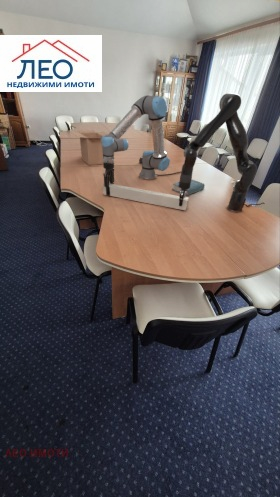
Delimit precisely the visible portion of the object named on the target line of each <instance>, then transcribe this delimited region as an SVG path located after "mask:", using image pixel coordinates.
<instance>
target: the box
mask: <svg viewBox="0 0 280 497" xmlns="http://www.w3.org/2000/svg"><path fill="white" fill-rule="evenodd" d="M70 133H71V134H72V135H74V136H75V137H77V138H79V144H80V153H81V160H83V162H85V163H86V165H87V166H95V165H97V166H98V165H103V148H102V142H101V139H102V137H103V136H104V135H108V134H109V133H108V132H105V131H98V132H96V131H95V130H92V129H91V130H77V132H76V131H70Z"/></svg>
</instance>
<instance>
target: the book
mask: <svg viewBox="0 0 280 497" xmlns="http://www.w3.org/2000/svg"><path fill="white" fill-rule="evenodd" d="M172 185H173V187H172V189H171V190H172V191H175V192H177V193H179V194H180V190H181V188H179V181H178V182H175V183H172ZM204 189H205V183H204V182H200V181H198V180H195V179H192V180H191V185H190V188H189V189H186V190H187V192H186V195H185V196H190V195H193V194H195V193H197V192H200V191H202V190H204Z"/></svg>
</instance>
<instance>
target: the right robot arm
mask: <svg viewBox="0 0 280 497" xmlns="http://www.w3.org/2000/svg"><path fill="white" fill-rule="evenodd" d="M218 105H219V110H220V111H219V112H218V113H217V115H216V116H215V117H213V119H212V120H211V121H209V122H208V123H207V124H206V125H204V127H203V128H202V129H201V130H200V131H199V133H198V134H197V135H196V136H195V138H194V139H193V140H192V141H191V142H190V143H189V144H187V146H186V147H185V148H184V150H183V157H184V163H183V164H182V166H181V171H180V175H179V181H178V182H179V188H181V190H180V193H179V196H180V198H179V201H180V202H179V206H182V204H183V199H184V198H185V197H186V196H187V195H186V192H187V190H186V189H189V188H190V185H191V180H193V173H194V167H195V164H196V162H197V158H198V151H199V150H200V149H202V148H203V147H204V146H205V145H206V144H207V143H208V141H210V139H211V138H212V137H213V136H214V135H215V133H217V131H218V130H219V129H220V128H221V127H222V126H223V125H224V124H225V126H226V129H227V134H228V137H229V142H230V145H231V148H232V151H233V155H234V158H235V163H236V168H237V172H238V174H239V175H241V176H240V179H239V180H236V181H235V184H234V186H233V189H232V192H231V196H230V198H229V200H228V205H227V210H228V211H230V212H232V213H233V212H234V213H240V212H242V211H243V209H244V207H246V208H249V207H250V206H260V205H265V202H261V203H250V204H246V201H247V198H246V197H247V195H248V193H249V192H248V191H249V189H250V186H251V185H252V184H253V182H254V180H255V177H256V175H257V172H258V166H257V165H256V164H255V163H253V162H252V161H250V158H249V156H248V147H249V137H248V134H247V130H246V128H245V126H244V124H243V123H242V121H241V119H240V117H239V113H238V110H239V109H240V108H241V105H242V97H241V96H240V94H237V93H233V92H227V93H224V94H223V95H222V96H221V98H220V99H219V104H218Z"/></svg>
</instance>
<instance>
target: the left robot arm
mask: <svg viewBox="0 0 280 497" xmlns="http://www.w3.org/2000/svg"><path fill="white" fill-rule="evenodd" d="M167 112H168V103H167V101H166V99H165V98H164V97H161V96H160V95H159V96H158V95H149V94H148V95H147V94H146V95H144V96H141V97H140V98H139V99H137V100H136V101H135V102H134V103H132V105H131V107H130V110H129V111H128V112H127V113H126V114H125V115H124V117H122V118H121V120H120V121H119V122H117V124H116V125H115V126H114V128H113V129H111V131H110V132H109V133H107V134H108V135H104V136H103V137H102V139H101V142H102V148H103V164H102V165H103V166H102V167H103V168H104V169H105V171H104V172H103V185H104V187H106V195H105V196H109V195H110V187H109V183H110V184H115V153H118V152H124V151H127V150H128V149H129V141H128V140H127V139H126V138H121V137H123V135H124V134H126V133H127V131H128V130H129V129H130V128H131V127H132V125H134V123H135V122H136V121H137V120H138V119H140V118H142V116H144V115H148V121H149V122H150V125H151V126H150V127H151V136H152V145H153V146H152V147H153V150H144V151H143V152H142V156H141V158H142V163H141V169H140V172H139V174H138V175H139V178H140V179H142V180H146V181H154V180H156V178H157V177H159V176H160V177H163V176H164V177H165V176H172V175H175V174H181V171H177V172H173V173H168V174H167V173H166V174H158V173H156V170H158V171H159V172H160V171H161V172H165V171H166V170H167V169H168V168H169V166H170V163H171V159H170V157H168V156H167V152H166V151H165V139H164V138H165V137H164V122H163V120H164V119H165V116H166V114H167Z"/></svg>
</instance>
